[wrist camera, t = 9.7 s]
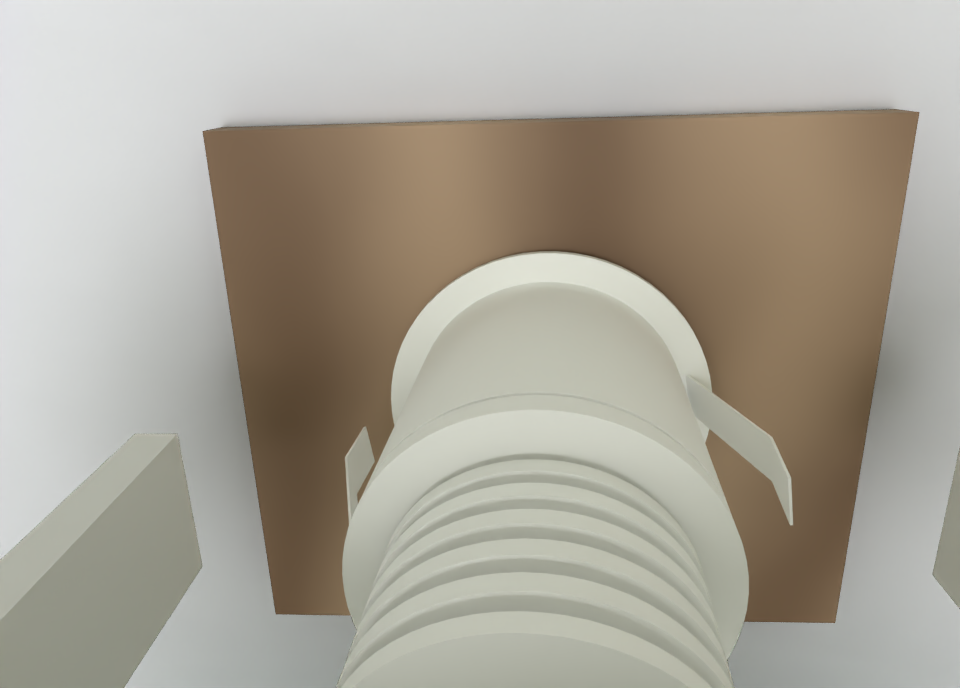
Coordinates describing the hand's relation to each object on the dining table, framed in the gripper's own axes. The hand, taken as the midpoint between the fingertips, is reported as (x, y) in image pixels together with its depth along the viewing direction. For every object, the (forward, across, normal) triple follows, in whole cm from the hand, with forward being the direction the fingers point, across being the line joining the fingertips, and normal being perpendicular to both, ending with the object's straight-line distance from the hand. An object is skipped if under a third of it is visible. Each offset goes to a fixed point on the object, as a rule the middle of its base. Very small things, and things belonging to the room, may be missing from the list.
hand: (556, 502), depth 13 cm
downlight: (+4, 0, 0) cm, 4 cm away
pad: (+5, 0, 0) cm, 5 cm away
